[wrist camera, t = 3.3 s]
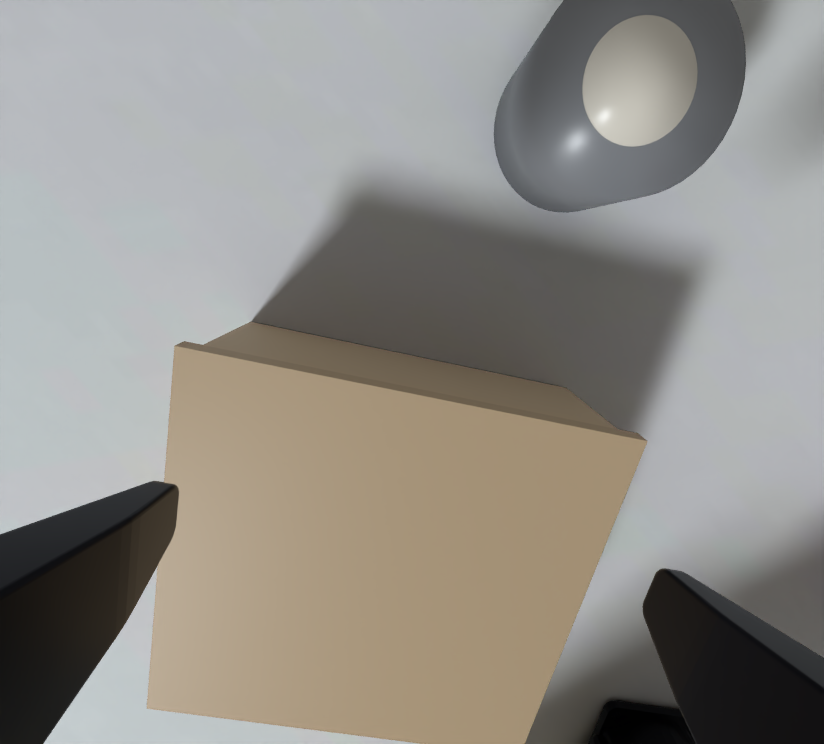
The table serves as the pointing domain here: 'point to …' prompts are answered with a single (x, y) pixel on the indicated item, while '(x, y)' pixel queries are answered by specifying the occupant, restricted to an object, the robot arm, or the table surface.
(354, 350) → the carton
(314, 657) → the lid
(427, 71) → the table surface
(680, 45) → the grey short round piece
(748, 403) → the table surface
